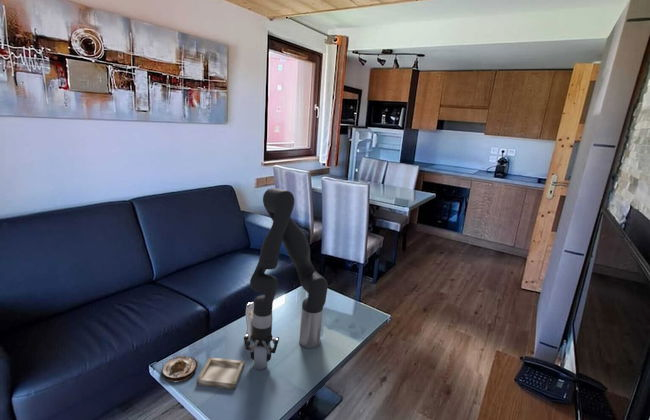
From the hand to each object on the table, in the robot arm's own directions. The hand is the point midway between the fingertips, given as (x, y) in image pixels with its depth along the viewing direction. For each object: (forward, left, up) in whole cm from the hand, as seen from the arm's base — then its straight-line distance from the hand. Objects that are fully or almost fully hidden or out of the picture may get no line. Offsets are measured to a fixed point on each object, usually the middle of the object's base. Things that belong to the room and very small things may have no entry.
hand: (260, 359), depth 133 cm
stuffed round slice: (+29, +8, -3) cm, 30 cm away
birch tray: (+13, +8, -2) cm, 15 cm away
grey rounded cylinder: (0, 0, -2) cm, 2 cm away
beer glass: (+8, -18, -3) cm, 20 cm away
